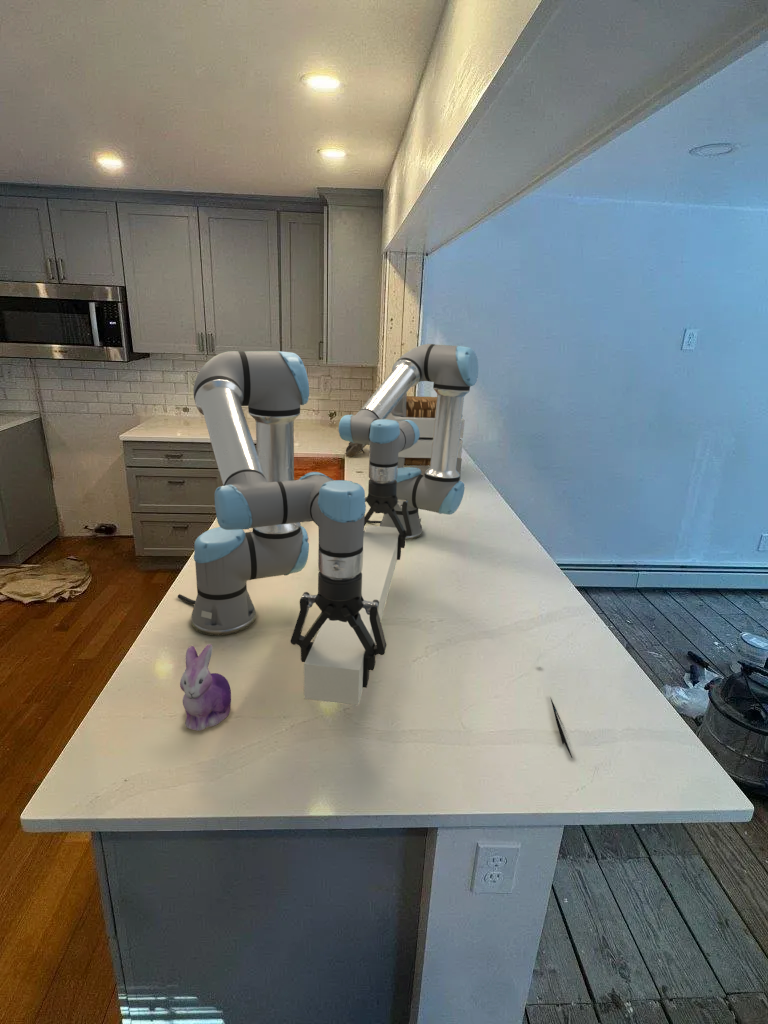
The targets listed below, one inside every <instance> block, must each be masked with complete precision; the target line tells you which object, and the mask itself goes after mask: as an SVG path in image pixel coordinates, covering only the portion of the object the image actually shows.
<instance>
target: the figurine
mask: <svg viewBox="0 0 768 1024" xmlns="http://www.w3.org/2000/svg"><path fill="white" fill-rule="evenodd" d="M213 649H214V648H213V645H212V644H211V643H208V644H206V646H204V648H203V649H202V651H201V652H200V653H199V655H198V651H197V650H196V647H195V646H194V645H190V646H188V647H187V648H186V652H185V659H184V660H185V669H184V672H183V673H182V675H181V678H180V681H179V687H180V690H181V691H182V692H183V693H184V694H183V697H182V705H183V708H184V711H185V714H186V718H185V722H184V723H185V727H186V728H187V729H189V730H194V731H198V732H199V731H204V730H205V729H207V728H213V727H215V726H217V725H219V724H220V723H221V722H222V721H224V720H225V719H227V717H229V715H230V712H231V705H232V689H231V686H230V683H229V681H228V679H227V678H226V677H225V676H224V675H222V674H221V673H219V672H218V673H217V672H212V673H211V671H210V669H209V665H210V662H211V658H212V654H213Z"/></svg>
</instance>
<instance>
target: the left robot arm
mask: <svg viewBox="0 0 768 1024" xmlns="http://www.w3.org/2000/svg"><path fill="white" fill-rule="evenodd" d="M309 384H310V383H309V377H308V372H307V369H306V367H305V364H304V362H303V360H302V358H301V357H300V356H299V355H298V354H297V353H295V352H292V351H291V352H290V351H282V350H281V351H280V350H263V351H262V350H257V351H255V350H253V351H243V350H242V351H241V350H239V351H238V350H229V351H224V352H221V353H219V354H217V355H215V356H213V357H211V358H210V359H209V360H208V361H206V363H204V364H203V366H202V367H201V368H200V370H199V371H198V373H197V375H196V378H195V380H194V384H193V388H192V389H193V399H194V403H195V406H196V409H197V410H198V412H199V413H200V414H201V415H202V416H203V417H204V421H205V424H206V429H207V431H208V432H207V433H208V436H209V439H210V444H211V447H212V451H213V454H214V459H215V462H216V466H217V470H218V474H219V478H220V481H221V485H222V486H221V485H220V486H218V487H216V489H215V491H214V508H215V515H216V521H217V523H218V526H217V527H213V528H211V529H208V530H205V531H204V532H202V533H201V534H200V535H198V536H197V538H196V539H195V541H194V544H193V545H194V547H193V548H194V550H193V551H194V552H193V554H194V555H193V560H194V563H195V576H196V578H195V580H196V591H197V593H196V598H195V600H194V599H190V598H188V597H187V596H185V595H182V594H180V593H179V594H178V595H177V598H178V599H180V600H182V601H184V602H186V603H188V604H191V605H193V609H192V612H191V617H190V618H191V625H192V627H193V629H194V630H195V631H197V632H199V633H200V634H203V635H208V636H214V637H215V636H216V637H218V636H228V635H233V634H237V633H240V632H242V631H244V630H246V629H248V628H249V627H251V626H252V625H253V623H254V622H255V620H256V609H255V605H254V603H253V601H252V598H251V596H250V594H249V592H248V586H247V581H251V580H260V579H265V578H273V577H280V576H288V575H290V574H296V573H299V572H301V571H302V570H303V569H304V568H305V567H306V566H307V563H308V558H309V551H310V543H309V535H308V531H307V529H306V528H305V527H304V526H302V525H301V523H307V522H313V523H314V524H315V525H316V526H317V527H318V548H317V549H318V551H317V552H318V553H317V556H318V559H317V563H318V567H317V568H318V574H317V594H311V593H309V592H308V591H304V592H303V593H302V595H301V597H300V599H299V609H300V610H299V613H298V616H297V620H296V621H295V626H294V628H293V632H292V634H291V638H290V641H289V642H290V644H291V645H293V646H295V645H297V646H298V647H300V661H301V662H302V663H305V661H306V658H307V656H308V654H309V652H310V650H311V647H312V645H313V643H314V641H312V640H313V639H314V638H315V637H316V636H317V634H318V632H319V630H320V628H321V626H322V625H323V624H324V623H325V621H326V620H327V618H328V619H329V620H331V621H336V620H339V621H342V622H347V621H348V623H349V625H350V626H351V628H353V629H354V631H355V633H356V635H357V636H358V638H359V640H360V642H361V643H362V645H363V647H364V649H365V650H366V651H365V655H364V664H363V689H364V688H366V689H367V688H368V683H369V681H370V671H372V672H373V671H374V670H375V668H376V661H377V656H378V655H380V656H385V654H386V650H387V645H388V644H387V641H386V637H385V632H384V629H383V625H382V620H381V621H380V617H379V613H378V608H379V601H378V600H373V602H370V601H365V600H364V599H363V597H362V594H361V592H362V573H361V571H362V568H363V538H364V530H365V526H364V519H365V515H366V510H367V508H366V507H367V505H366V504H367V503H366V502H365V497H366V492H365V489H364V487H363V486H362V485H361V484H359V483H358V482H353V481H351V480H345V479H335V480H334V479H333V478H331V477H329V476H327V475H326V474H325V473H322V472H318V471H310V472H307V473H305V474H303V475H302V476H300V477H299V478H298V479H295V430H294V426H295V425H294V423H295V422H294V421H295V420H296V419H297V418H298V417H299V416H300V415H301V406H304V405H307V404H308V402H309V397H310V385H309ZM243 407H247V410H248V411H247V412H248V414H249V415H250V417H252V418H253V419H254V420H255V443H254V440H253V436H252V433H251V431H250V427H249V425H248V422H247V419H246V416H245V412H244V410H243ZM255 444H256V446H255ZM249 529H252V531H247V532H246V531H244V530H249ZM314 604H316V606H317V607H318V609H319V610H320V611H321V612H320V613H319V615H318V616H317V618H316V619H315V621H314V622H313V623H312V624H311V626H310V628H309V629H308V631H307V632H306V633H305V634H304V635H302V633H303V629H304V626H305V622H306V619H307V617H308V615H309V610H310V609H311V608H312V607H313V605H314ZM362 608H364V609H365V610H366V613H367V615H370V617H369V618H370V623H371V627H372V631H373V635H374V639H375V642H374V641H373V639H372V637H371V635H370V634H369V632H368V630H367V628H366V626H365V625H364V623H363V621H362V619H361V616H360V613H359V611H360V610H361V609H362Z"/></svg>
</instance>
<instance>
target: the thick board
mask: <svg viewBox="0 0 768 1024" xmlns="http://www.w3.org/2000/svg"><path fill="white" fill-rule="evenodd" d="M398 536H399V532H398V530H397V528H394V527H383V526H380V525H373V524H372V525H370V524H366V525H365V527H364V538H363V568H362V571H361V573H362V592H361V594H362V597H363V599H364V600H365V601H370V602H373V600H378V601H379V608H378V613H379V617H380V621H381V622H382V618H383V615H384V611H385V607H386V603H387V599H388V595H389V593H390V588H391V584H392V581H393V577H394V574H395V570H396V567H397V566H396V565H397V563H398V560H397V549H398ZM359 613H360V616H361V619H362V621H363V623H364V625H365V626H366V628H367V630H368V632H369V634H370V635H371V637H372V639H373V641H374V642H375V639H374V635H373V631H372V627H371V623H370V618H369V617H370V615H367V613H366V610H365V609H364V608H362V609H361V610H360V611H359ZM314 638H315V639H314V640H313V642H314V643H313V645H312V647H311V650H310V652H309V654H308V656H307V658H306V661H305V662H303V687H304V688H303V691H304V692H303V699H304V700H311V701H320V702H326V703H327V702H328V703H335V704H343V705H351V706H359V704H360V701H361V697H362V694H363V689H364V687H363V664H364V655H365V651H366V650H365V649H364V647H363V645H362V643H361V642H360V640H359V638H358V636H357V635H356V633H355V631H354V629H353V628H351V626H350V625H349V623H348V621H347V622H342V621H339V620H336V621H331V620H329V619H328V618H327V620H326V621H325V623H324V624H323V625H322V626H321V628H320V629H319V630H318V632H317V633H316V635H315V637H314ZM375 643H376V642H375Z"/></svg>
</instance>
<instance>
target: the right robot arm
mask: <svg viewBox="0 0 768 1024" xmlns="http://www.w3.org/2000/svg"><path fill="white" fill-rule="evenodd" d="M391 368H392V369H391V372H390V373H389V374H388V376H386V378H385V379H384V380H383V381H382V382H381V384H380V385H379V387H378V388H377V389H376V390H375V391H374V392H373V394H372V395H371V396H370V397H369V398H368V399H367V401H366V402H365V403H364V405H362V406H361V408H360V409H359V411H358V412H357V413H356V414H355V415H354V414H345V415H342V417H341V418H340V420H339V422H338V434H339V437H340V438H341V440H342V441H345V442H348V443H349V442H353V443H359V444H366V446H369V460H368V478H369V479H368V483H367V484H368V486H367V487H368V489H367V492H368V493H367V496H365V503H366V504H367V505H368V506H369V509H368V510H367V513H365V519H364V527H366V526H367V524H379V526H383V527H394V528H397V530H398V532H399V536H398V549H397V561H400V560H401V556H402V549H405V547H406V541H410V540H415V539H418V538H420V537H421V536H422V535H423V525H422V524H421V522H422V517H421V518H420V515H419V510H421V511H422V510H423V511H427V512H432V513H437V514H439V515H442V514H444V515H453V514H454V513H456V512H457V510H458V509H459V508H460V505H461V503H462V502H463V501H462V500H463V497H464V494H465V489H466V487H465V483H464V481H462V480H460V481H459V478H460V479H461V474H459V473H458V472H457V471H456V464H457V455H458V446H459V437H460V428H461V419H463V410H464V402H465V401H464V400H465V397H466V395H467V394H468V393H469V392H470V388H471V387H474V386H475V385H476V384H477V381H478V378H479V361H478V356H477V353H476V351H475V350H474V349H473V348H472V347H470V346H463V345H451V344H450V345H449V344H436V343H435V344H434V343H425V344H424V343H423V344H421V345H418V346H415V347H413V348H411V349H410V350H408V351H407V352H405V353H404V354H403V355H401V356H400V357H399V358H398V359H397V360H396V361H395V362H394V364H393V365H392V367H391ZM420 382H430V383H433V385H432V389H433V390H434V391H435V393H436V397H437V402H436V412H435V422H434V432H433V442H432V452H431V463H430V466H429V467H428V468H427V469H426V470H424V474H422V470H421V468H419V467H415V466H411V467H410V466H406V467H405V466H404V468H398V453H399V452H401V451H403V450H405V449H407V448H410V447H412V445H414V444H415V443H416V442H417V441H418V439H419V436H420V432H419V428H418V426H417V425H416V424H415V423H414V422H413V421H411V420H402V421H399V422H397V421H394V420H388V419H386V418H387V417H388V416H389V414H390V413H391V412H392V410H393V409H394V408H395V407H396V405H397V404H398V403H399V402H400V400H401V399H402V398H403V396H404V395H405V394H406V393H407V394H408V392H409V390H410V389H411V388H413V387H416V386H417V385H418V384H419V383H420ZM374 513H375V514H383V515H382V519H381V520H370V519H371V517H372V516H373V514H374Z"/></svg>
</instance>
